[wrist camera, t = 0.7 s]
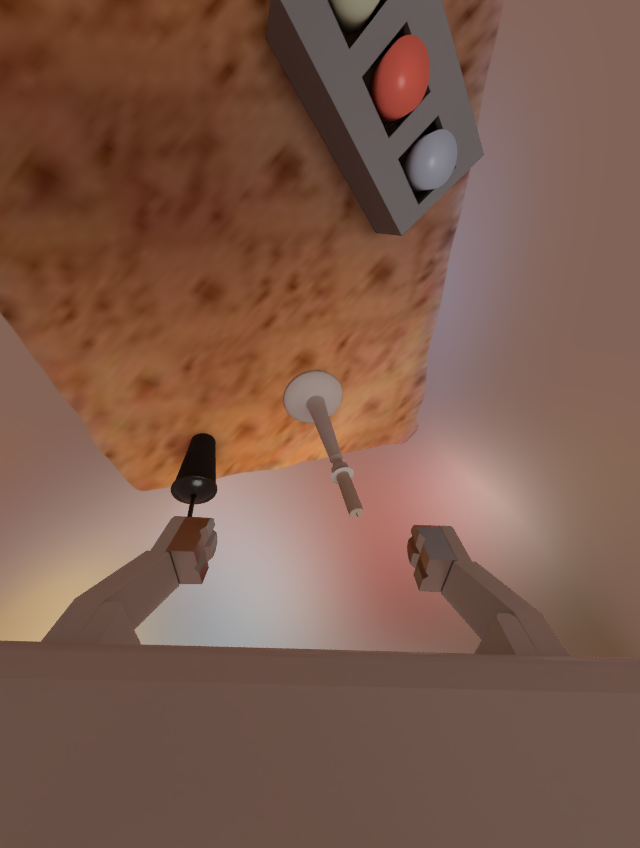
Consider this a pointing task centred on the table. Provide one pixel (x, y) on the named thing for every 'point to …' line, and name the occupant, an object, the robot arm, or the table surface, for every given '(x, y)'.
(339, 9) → the green button
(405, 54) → the red button
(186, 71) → the table surface
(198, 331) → the table surface
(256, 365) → the table surface
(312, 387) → the candlestick
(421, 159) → the blue button
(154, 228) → the table surface
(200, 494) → the drinking cup
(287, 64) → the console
